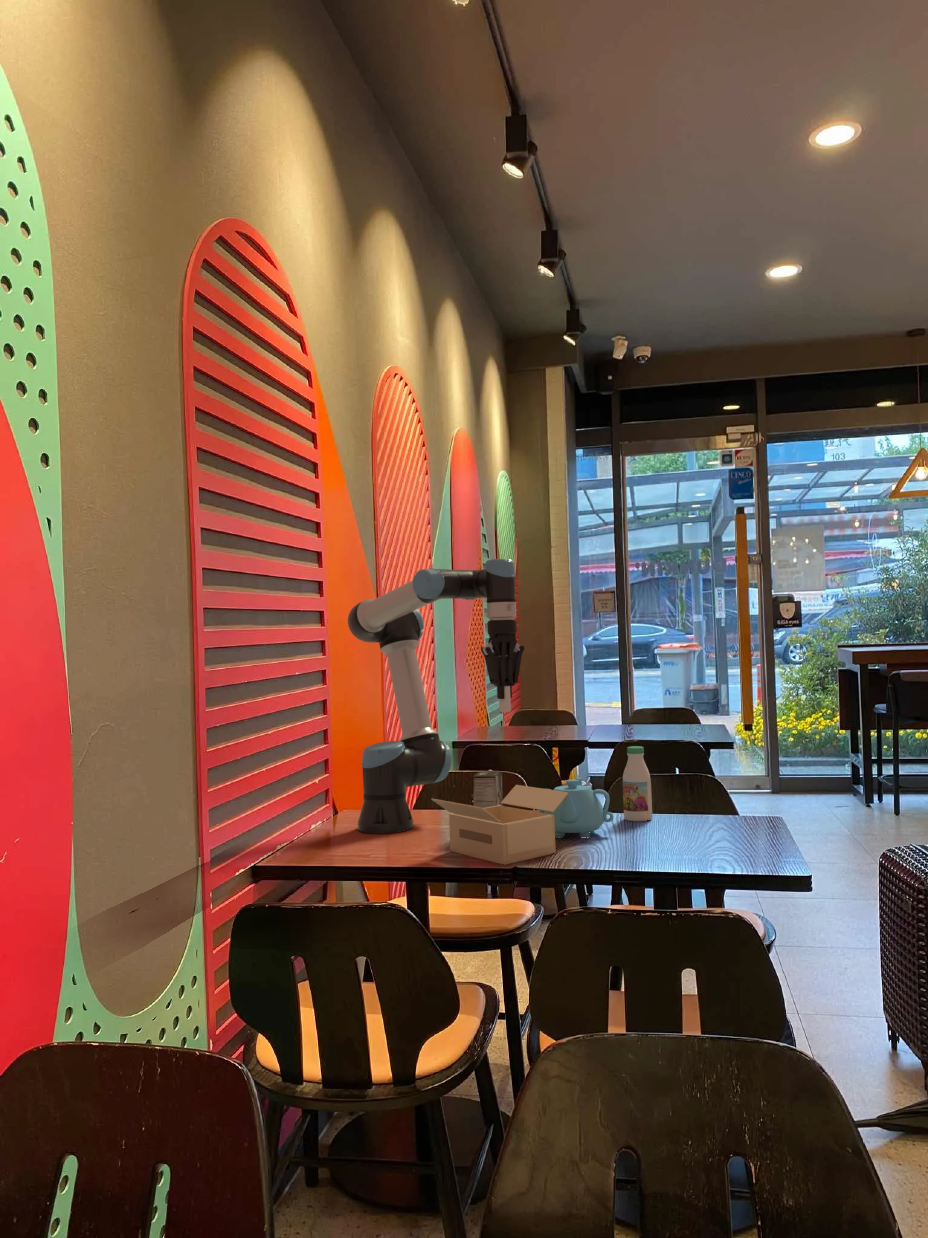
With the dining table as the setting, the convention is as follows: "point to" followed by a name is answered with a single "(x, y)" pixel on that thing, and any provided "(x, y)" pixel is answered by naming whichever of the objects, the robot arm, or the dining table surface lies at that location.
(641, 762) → the milk bottle
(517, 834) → the carton
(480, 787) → the coffee box
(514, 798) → the far flap
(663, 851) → the dining table surface
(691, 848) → the dining table surface
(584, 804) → the teapot
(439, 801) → the near flap
